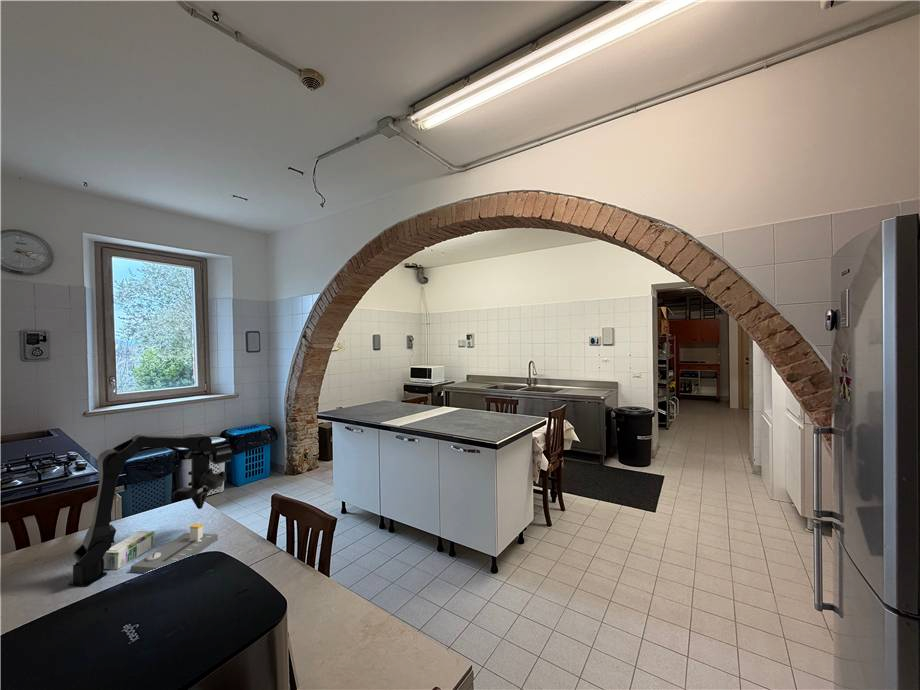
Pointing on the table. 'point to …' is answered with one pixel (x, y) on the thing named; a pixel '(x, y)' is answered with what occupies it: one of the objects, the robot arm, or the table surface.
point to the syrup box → (128, 549)
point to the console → (174, 552)
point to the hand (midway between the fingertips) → (200, 508)
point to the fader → (196, 531)
